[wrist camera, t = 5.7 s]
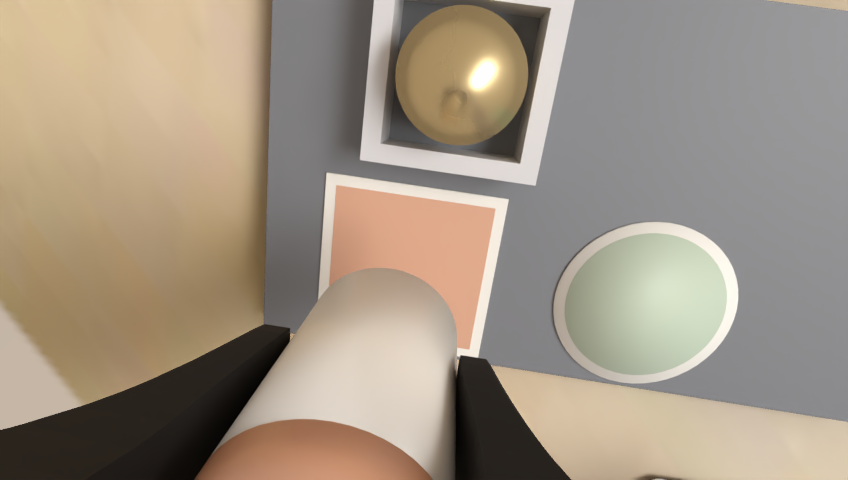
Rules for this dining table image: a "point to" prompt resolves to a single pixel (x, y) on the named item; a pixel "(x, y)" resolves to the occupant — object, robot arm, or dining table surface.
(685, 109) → the board
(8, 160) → the dining table surface
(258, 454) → the white cylinder
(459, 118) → the button
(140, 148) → the dining table surface
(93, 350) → the dining table surface
